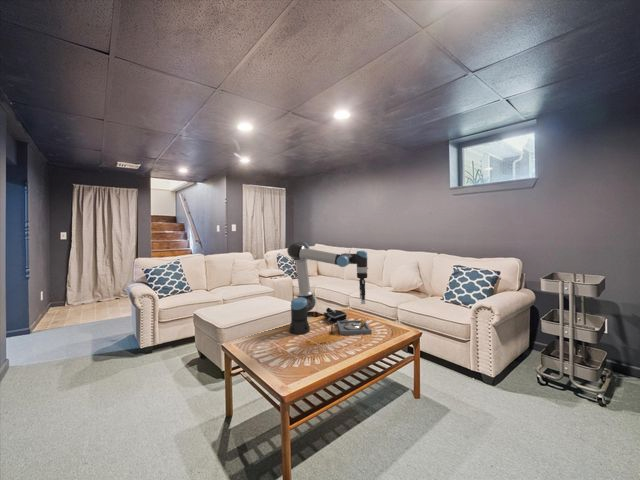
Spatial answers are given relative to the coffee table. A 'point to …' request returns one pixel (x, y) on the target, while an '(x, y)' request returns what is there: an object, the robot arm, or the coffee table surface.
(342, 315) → the film camera
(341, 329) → the panel
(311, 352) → the coffee table surface
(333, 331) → the screwdriver
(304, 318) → the robot arm
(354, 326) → the dial
